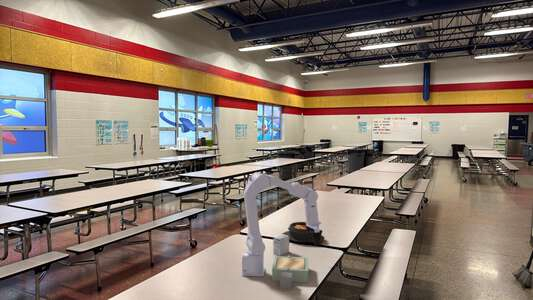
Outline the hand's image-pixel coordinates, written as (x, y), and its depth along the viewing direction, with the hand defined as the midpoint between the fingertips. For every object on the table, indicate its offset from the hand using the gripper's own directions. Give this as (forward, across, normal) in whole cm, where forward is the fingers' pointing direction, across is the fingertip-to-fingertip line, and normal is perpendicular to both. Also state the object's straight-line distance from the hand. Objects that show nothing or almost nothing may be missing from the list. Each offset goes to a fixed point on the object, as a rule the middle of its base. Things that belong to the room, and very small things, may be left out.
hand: (314, 242), depth 152 cm
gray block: (+8, -20, +19) cm, 28 cm away
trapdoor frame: (+9, -9, +14) cm, 19 cm away
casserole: (+12, +34, -1) cm, 36 cm away
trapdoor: (+6, -9, +14) cm, 18 cm away
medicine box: (+10, +15, +14) cm, 23 cm away
